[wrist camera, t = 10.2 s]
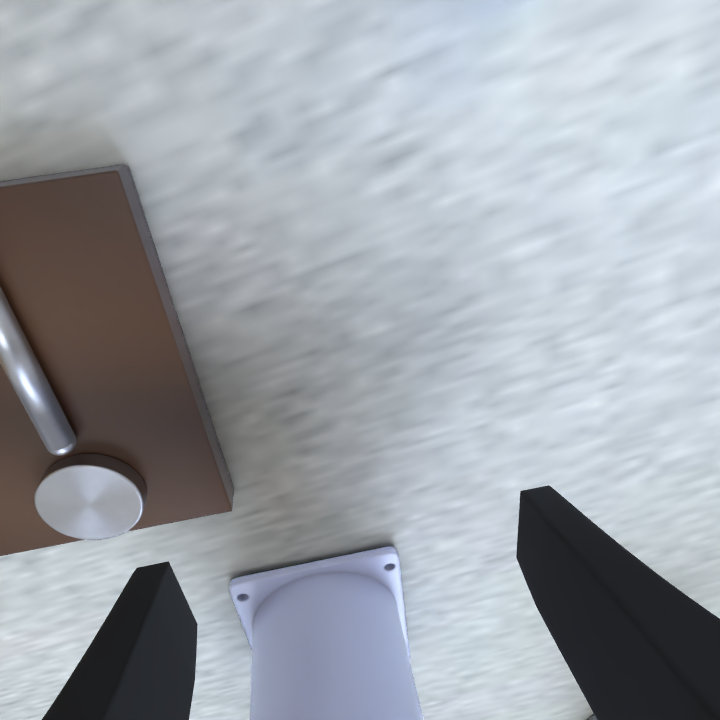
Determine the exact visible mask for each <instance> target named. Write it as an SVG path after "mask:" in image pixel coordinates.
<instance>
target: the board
mask: <svg viewBox="0 0 720 720" xmlns="http://www.w3.org/2000/svg"><path fill="white" fill-rule="evenodd" d="M0 287H1V289H2V291H3V293H4V295H5V297H6V299H7V301H8V303H9V305H10V307H11V309H12V311H13V313H14V315H15V317H16V319H17V321H18V323H19V325H20V327H21V329H22V331H23V333H24V335H25V337H26V339H27V341H28V342H29V344H30V346H31V348H32V350H33V352H34V354H35V356H36V358H37V360H38V362H39V364H40V366H41V368H42V370H43V372H44V374H45V376H46V378H47V380H48V382H49V384H50V386H51V388H52V390H53V392H54V394H55V396H56V398H57V400H58V402H59V404H60V406H61V408H62V410H63V412H64V414H65V416H66V418H67V420H68V422H69V424H70V426H71V428H72V430H73V432H74V434H75V436H76V440H77V443H76V446H75V448H74V449H73V450H72V451H71V452H70V453H68V454H66V455H62V456H58V455H54V454H52V453H50V452H49V451H48V450H47V448H46V446H45V444H44V443H43V441H42V439H41V437H40V435H39V433H38V432H37V430H36V428H35V426H34V424H33V423H32V421H31V419H30V417H29V415H28V413H27V412H26V410H25V408H24V406H23V404H22V402H21V401H20V399H19V397H18V395H17V393H16V392H15V390H14V388H13V386H12V384H11V382H10V381H9V379H8V377H7V375H6V373H5V371H4V370H3V368H2V366H1V364H0V556H3V555H8V554H13V553H18V552H24V551H29V550H34V549H39V548H44V547H49V546H54V545H60V544H65V543H70V542H75V541H80V540H85V539H79V538H74V537H71V536H67V535H65V534H62V533H60V532H58V531H56V530H55V529H53V528H52V527H50V526H49V525H48V524H46V523H45V522H44V521H43V520H42V518H41V517H40V516H39V514H38V512H37V510H36V507H35V502H34V495H35V491H36V488H37V486H38V484H39V482H40V481H41V479H42V477H43V475H44V474H45V472H46V471H47V470H48V469H49V468H50V467H51V466H52V465H53V464H55V463H56V462H58V461H60V460H62V459H64V458H67V457H70V456H74V455H79V454H99V455H105V456H109V457H113V458H115V459H118V460H120V461H122V462H124V463H126V464H128V465H129V466H130V467H132V468H133V469H134V470H135V471H136V472H137V473H138V474H139V475H140V476H141V478H142V479H143V481H144V483H145V486H146V490H147V499H146V503H145V507H144V510H143V513H142V516H141V518H140V519H139V521H138V522H137V523H136V524H135V525H134V526H133V527H132V528H131V529H130V530H128V531H132V530H137V529H142V528H147V527H152V526H157V525H162V524H168V523H173V522H178V521H183V520H188V519H193V518H198V517H204V516H209V515H214V514H219V513H224V512H229V511H232V507H233V495H234V489H233V486H232V483H231V480H230V477H229V474H228V471H227V467H226V464H225V461H224V458H223V455H222V452H221V449H220V446H219V443H218V440H217V437H216V434H215V431H214V428H213V424H212V421H211V418H210V415H209V412H208V409H207V406H206V403H205V400H204V397H203V394H202V391H201V388H200V385H199V381H198V378H197V375H196V372H195V369H194V366H193V363H192V360H191V357H190V354H189V351H188V348H187V345H186V342H185V338H184V335H183V332H182V329H181V326H180V323H179V320H178V317H177V314H176V311H175V308H174V305H173V302H172V299H171V295H170V292H169V289H168V286H167V283H166V280H165V277H164V274H163V271H162V268H161V265H160V262H159V259H158V256H157V252H156V249H155V246H154V243H153V240H152V237H151V234H150V231H149V228H148V225H147V222H146V219H145V216H144V213H143V210H142V206H141V203H140V200H139V197H138V194H137V191H136V188H135V185H134V182H133V179H132V176H131V173H130V170H129V167H128V165H126V164H122V165H115V166H108V167H101V168H94V169H87V170H80V171H73V172H66V173H59V174H52V175H45V176H38V177H31V178H23V179H16V180H9V181H2V182H0Z"/></svg>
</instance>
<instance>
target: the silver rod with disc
mask: <svg viewBox="0 0 720 720" xmlns="http://www.w3.org/2000/svg"><path fill="white" fill-rule="evenodd" d="M0 364H1V366H2V368H3V370H4V371H5V373H6V375H7V377H8V379H9V381H10V382H11V384H12V386H13V388H14V390H15V392H16V393H17V395H18V397H19V399H20V401H21V402H22V404H23V406H24V408H25V410H26V412H27V413H28V415H29V417H30V419H31V421H32V423H33V424H34V426H35V428H36V430H37V432H38V433H39V435H40V437H41V439H42V441H43V443H44V444H45V446H46V448H47V450H48V451H49V452H50V453H52V454H54V455H58V456H62V455H66V454H68V453H70V452H71V451H72V450H73V449H74V448H75V446H76V443H77V440H76V436H75V434H74V432H73V430H72V428H71V426H70V424H69V422H68V420H67V418H66V416H65V414H64V412H63V410H62V408H61V406H60V404H59V402H58V400H57V398H56V396H55V394H54V392H53V390H52V388H51V386H50V384H49V382H48V380H47V378H46V376H45V374H44V372H43V370H42V368H41V366H40V364H39V362H38V360H37V358H36V356H35V354H34V352H33V350H32V348H31V346H30V344H29V342H28V341H27V339H26V337H25V335H24V333H23V331H22V329H21V327H20V325H19V323H18V321H17V319H16V317H15V315H14V313H13V311H12V309H11V307H10V305H9V303H8V301H7V299H6V297H5V295H4V293H3V291H2V289H1V287H0ZM146 499H147V490H146V486H145V483H144V481H143V479H142V478H141V476H140V475H139V474H138V473H137V472H136V471H135V470H134V469H133V468H132V467H130V466H129V465H128V464H126V463H124V462H122V461H120V460H118V459H115V458H113V457H109V456H105V455H99V454H79V455H74V456H70V457H67V458H64V459H62V460H60V461H58V462H56V463H55V464H53V465H52V466H51V467H50V468H49V469H48V470H47V471H46V472H45V474H44V475H43V477H42V479H41V481H40V482H39V484H38V486H37V488H36V491H35V495H34V502H35V507H36V510H37V512H38V514H39V516H40V517H41V518H42V520H43V521H44V522H45V523H46V524H48V525H49V526H50V527H52V528H53V529H55V530H56V531H58V532H60V533H62V534H65V535H67V536H71V537H74V538H79V539H86V540H101V539H108V538H112V537H116V536H118V535H121V534H123V533H125V532H127V531H128V530H130V529H131V528H132V527H133V526H134V525H135V524H136V523H137V522H138V521H139V519H140V518H141V516H142V513H143V510H144V507H145V503H146Z"/></svg>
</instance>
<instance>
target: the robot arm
mask: <svg viewBox="0 0 720 720" xmlns="http://www.w3.org/2000/svg"><path fill="white" fill-rule="evenodd" d="M517 560H518V562H519V565H520V567H521V570H522V572H523V575H524V578H525V580H526V583H527V585H528V587H529V590H530V592H531V595H532V597H533V599H534V602H535V604H536V606H537V608H538V610H539V612H540V614H541V616H542V618H543V620H544V622H545V624H546V625H547V627H548V629H549V631H550V633H551V635H552V637H553V639H554V640H555V642H556V644H557V646H558V648H559V650H560V652H561V653H562V655H563V657H564V659H565V661H566V663H567V664H568V666H569V668H570V670H571V672H572V674H573V676H574V677H575V679H576V681H577V683H578V685H579V687H580V689H581V690H582V692H583V694H584V696H585V698H586V700H587V702H588V703H589V705H590V707H591V709H592V711H593V713H594V714H595V716H596V718H597V720H720V619H719V618H718V617H716V616H715V615H713V614H712V613H710V612H709V611H708V610H706V609H705V608H703V607H702V606H700V605H699V604H698V603H696V602H695V601H694V600H692V599H691V598H689V597H688V596H687V595H685V594H684V593H682V592H681V591H680V590H678V589H677V588H675V587H674V586H673V585H671V584H670V583H669V582H667V581H666V580H665V579H663V578H662V577H661V576H659V575H658V574H657V573H655V572H654V571H653V570H652V569H650V568H649V567H648V566H646V565H645V564H644V563H643V562H641V561H640V560H639V559H638V558H636V557H635V556H634V555H632V554H631V553H630V552H629V551H627V550H626V549H625V548H624V547H622V546H621V545H620V544H619V543H617V542H616V541H615V540H614V539H612V538H611V537H610V536H609V535H608V534H606V533H605V532H604V531H603V530H602V529H600V528H599V527H598V526H597V525H595V524H594V523H593V522H592V521H591V520H590V519H588V518H587V517H586V516H585V515H584V514H582V513H581V512H580V511H579V510H578V509H577V508H575V507H574V506H573V505H572V504H571V503H570V502H568V501H567V500H566V499H565V498H564V497H562V496H561V495H560V494H559V493H558V492H557V491H555V490H554V489H553V488H552V487H550V486H544V487H539V488H534V489H529V490H524V491H521V493H520V509H519V525H518V541H517ZM229 592H230V595H231V597H232V600H233V603H234V605H235V608H236V610H237V613H238V616H239V618H240V621H241V623H242V626H243V629H244V631H245V634H246V636H247V639H248V642H249V644H250V647H251V649H252V666H251V696H250V720H424V719H423V715H422V710H421V706H420V702H419V698H418V693H417V689H416V685H415V681H414V677H413V672H412V668H411V664H410V651H409V642H408V633H407V624H406V615H405V606H404V597H403V588H402V579H401V571H400V562H399V555H398V552H397V549H395V548H394V547H383V548H378V549H373V550H368V551H364V552H359V553H354V554H349V555H344V556H339V557H334V558H329V559H324V560H320V561H315V562H310V563H305V564H300V565H295V566H290V567H285V568H280V569H275V570H271V571H266V572H261V573H256V574H251V575H246V576H241V577H237V578H235V579H233V580H232V581H231V582H230V587H229ZM196 646H197V622H196V620H195V618H194V616H193V614H192V611H191V609H190V607H189V605H188V603H187V600H186V598H185V596H184V594H183V592H182V590H181V587H180V585H179V583H178V581H177V579H176V576H175V574H174V572H173V570H172V568H171V566H170V563H169V562H164V563H159V564H154V565H149V566H144V567H139V568H137V569H136V570H135V571H134V573H133V574H132V576H131V578H130V579H129V581H128V583H127V584H126V586H125V588H124V589H123V591H122V593H121V595H120V596H119V598H118V600H117V601H116V603H115V605H114V606H113V608H112V610H111V611H110V613H109V615H108V616H107V618H106V620H105V621H104V623H103V625H102V626H101V628H100V630H99V631H98V633H97V635H96V636H95V638H94V640H93V641H92V643H91V645H90V646H89V648H88V649H87V651H86V653H85V654H84V656H83V657H82V659H81V660H80V662H79V664H78V665H77V667H76V668H75V670H74V672H73V673H72V675H71V676H70V678H69V679H68V681H67V683H66V684H65V686H64V687H63V689H62V690H61V692H60V694H59V695H58V697H57V698H56V700H55V701H54V703H53V704H52V706H51V707H50V709H49V710H48V711H47V713H46V714H45V716H44V717H43V719H42V720H189V715H190V708H191V702H192V695H193V688H194V681H195V666H196Z"/></svg>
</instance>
